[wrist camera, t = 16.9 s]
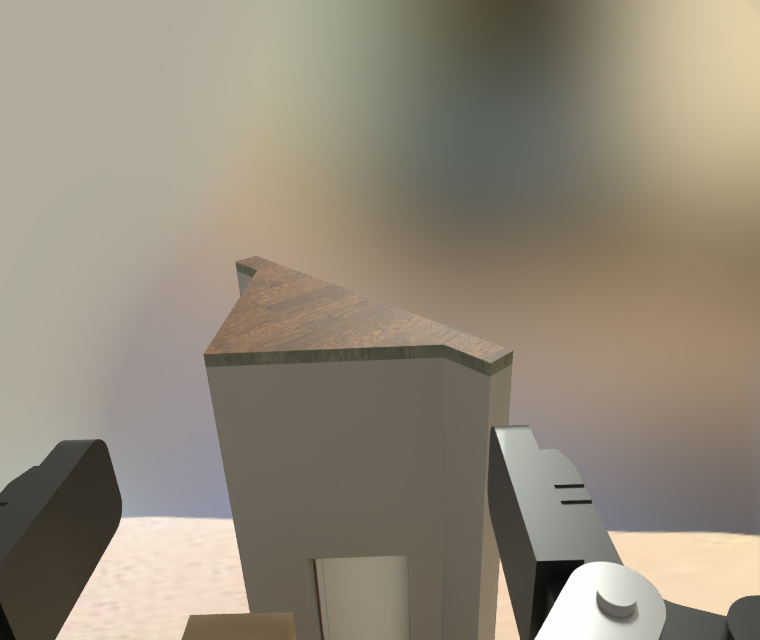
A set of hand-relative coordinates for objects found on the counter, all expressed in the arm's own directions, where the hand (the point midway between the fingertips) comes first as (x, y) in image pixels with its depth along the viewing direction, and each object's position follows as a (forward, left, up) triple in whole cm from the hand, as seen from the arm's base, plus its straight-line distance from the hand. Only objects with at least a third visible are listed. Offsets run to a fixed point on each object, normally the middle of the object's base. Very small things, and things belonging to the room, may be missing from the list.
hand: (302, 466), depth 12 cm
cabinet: (+17, -3, -32) cm, 37 cm away
